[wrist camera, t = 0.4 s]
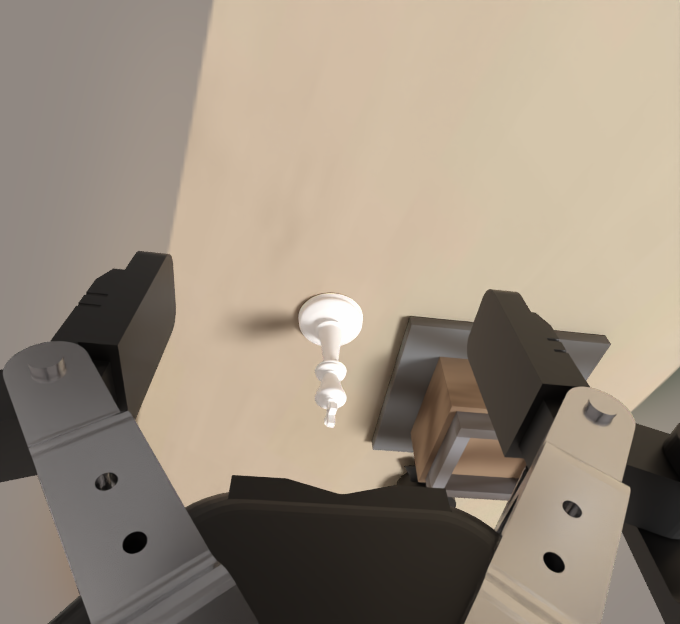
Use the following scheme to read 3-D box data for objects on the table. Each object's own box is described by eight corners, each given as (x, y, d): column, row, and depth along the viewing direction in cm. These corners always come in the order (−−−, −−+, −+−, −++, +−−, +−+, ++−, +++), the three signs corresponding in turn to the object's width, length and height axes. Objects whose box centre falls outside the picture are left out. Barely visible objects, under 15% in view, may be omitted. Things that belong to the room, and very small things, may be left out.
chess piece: (292, 335, 38) (283, 443, 31) (305, 287, 35) (298, 392, 27) (353, 346, 39) (358, 453, 31) (370, 299, 36) (381, 405, 28)
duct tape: (375, 500, 55) (377, 525, 53) (406, 450, 49) (410, 476, 46) (438, 508, 56) (442, 533, 54) (476, 460, 50) (483, 486, 48)
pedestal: (410, 316, 37) (424, 391, 31) (605, 335, 39) (653, 410, 33) (372, 440, 47) (377, 514, 41) (528, 451, 49) (554, 524, 43)
